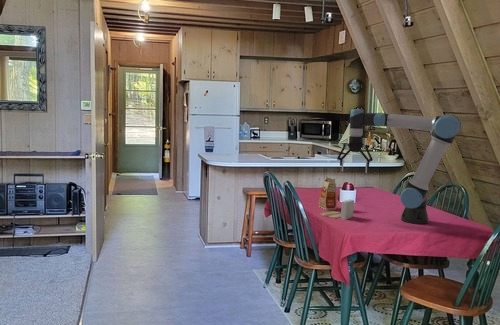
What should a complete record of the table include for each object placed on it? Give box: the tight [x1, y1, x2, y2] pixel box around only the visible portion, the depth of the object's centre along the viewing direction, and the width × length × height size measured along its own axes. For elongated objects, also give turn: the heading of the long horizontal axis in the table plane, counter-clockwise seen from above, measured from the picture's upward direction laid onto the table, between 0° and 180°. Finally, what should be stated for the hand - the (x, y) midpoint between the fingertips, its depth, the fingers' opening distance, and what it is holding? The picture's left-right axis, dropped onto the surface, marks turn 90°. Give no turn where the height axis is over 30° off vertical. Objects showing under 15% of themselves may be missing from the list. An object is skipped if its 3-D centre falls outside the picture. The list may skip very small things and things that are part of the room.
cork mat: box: [318, 210, 341, 220], centre depth 287 cm, size 12×14×1 cm
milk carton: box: [318, 176, 338, 211], centre depth 304 cm, size 9×9×20 cm
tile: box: [340, 199, 355, 220], centre depth 280 cm, size 3×10×10 cm, turn 141°
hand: (354, 172), depth 281 cm, fingers open, 13 cm apart
